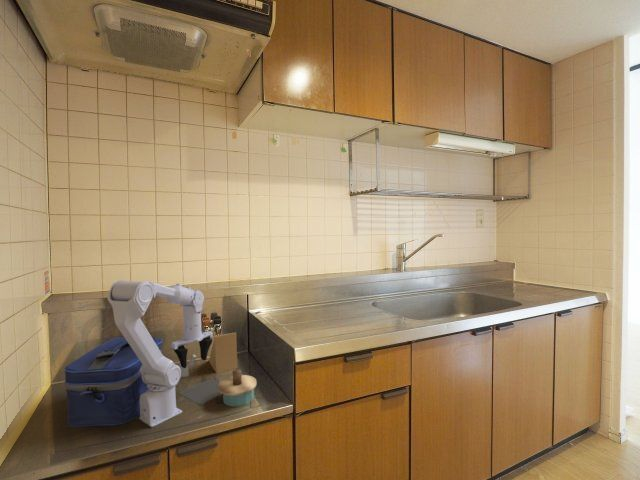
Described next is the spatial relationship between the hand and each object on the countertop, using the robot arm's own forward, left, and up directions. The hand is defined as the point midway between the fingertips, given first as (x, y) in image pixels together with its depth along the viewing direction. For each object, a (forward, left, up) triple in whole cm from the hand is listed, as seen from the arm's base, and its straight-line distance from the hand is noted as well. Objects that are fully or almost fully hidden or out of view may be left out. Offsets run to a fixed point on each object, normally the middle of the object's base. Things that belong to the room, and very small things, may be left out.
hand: (194, 363), depth 116 cm
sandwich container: (+20, +11, -10) cm, 25 cm away
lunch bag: (-18, +14, -10) cm, 25 cm away
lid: (+5, -17, -5) cm, 18 cm away
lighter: (+5, +13, -10) cm, 17 cm away
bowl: (+5, -17, -10) cm, 20 cm away
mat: (+2, -4, -10) cm, 11 cm away
